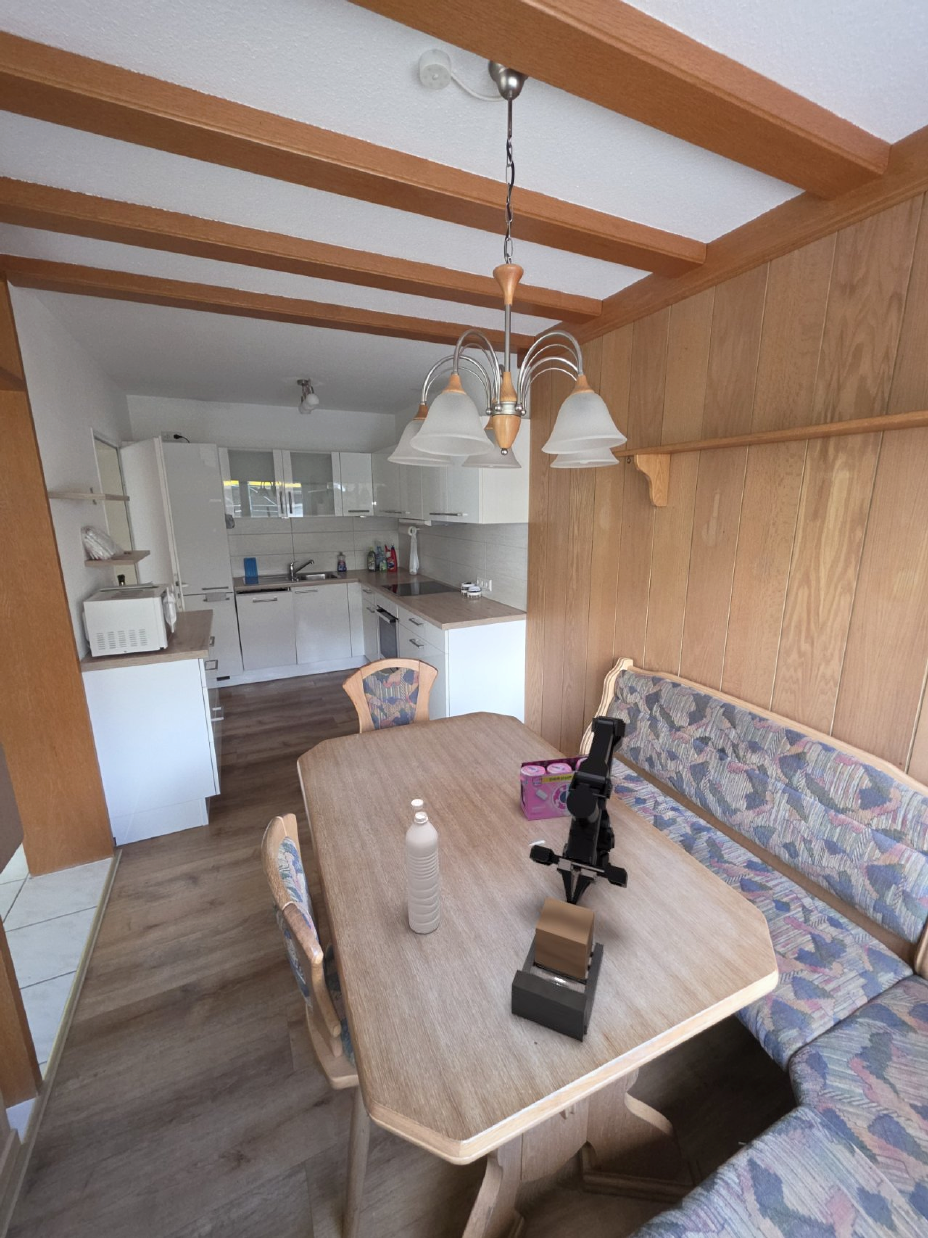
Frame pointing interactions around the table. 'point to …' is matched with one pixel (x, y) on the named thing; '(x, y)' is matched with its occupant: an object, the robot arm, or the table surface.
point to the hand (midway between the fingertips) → (570, 913)
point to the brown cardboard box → (564, 937)
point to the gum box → (547, 786)
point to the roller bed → (556, 995)
